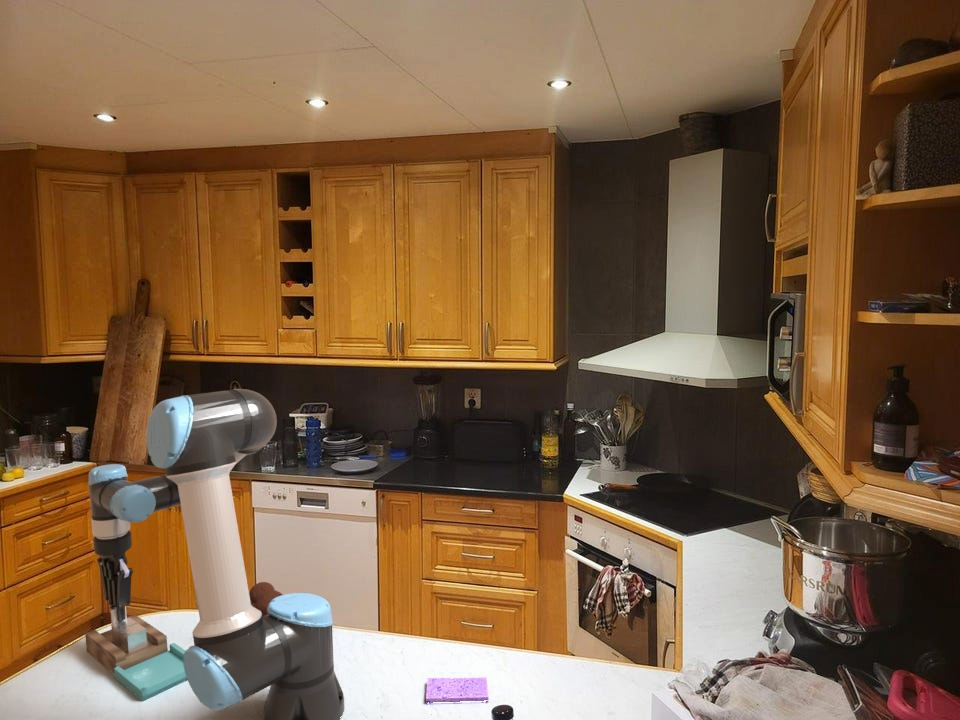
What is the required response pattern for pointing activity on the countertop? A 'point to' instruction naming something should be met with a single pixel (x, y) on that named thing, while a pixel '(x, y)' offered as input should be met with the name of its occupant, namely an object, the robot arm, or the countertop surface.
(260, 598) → the ice cream bowl
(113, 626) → the far block
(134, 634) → the near block
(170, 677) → the tray
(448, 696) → the sponges
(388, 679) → the countertop surface
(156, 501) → the robot arm
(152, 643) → the groove board
